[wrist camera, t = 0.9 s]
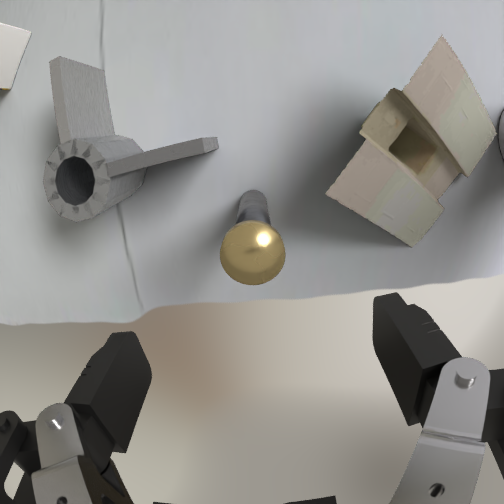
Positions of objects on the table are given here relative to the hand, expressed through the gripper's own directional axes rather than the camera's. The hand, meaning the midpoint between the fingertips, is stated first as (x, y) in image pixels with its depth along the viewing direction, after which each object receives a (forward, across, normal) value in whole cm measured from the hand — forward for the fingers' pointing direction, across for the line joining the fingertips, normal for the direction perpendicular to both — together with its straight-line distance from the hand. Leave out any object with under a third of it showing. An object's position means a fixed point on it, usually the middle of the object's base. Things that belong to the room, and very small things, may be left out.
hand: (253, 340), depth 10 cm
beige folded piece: (+20, -16, -3) cm, 26 cm away
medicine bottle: (+20, +25, -24) cm, 40 cm away
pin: (+20, 0, 0) cm, 20 cm away
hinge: (+20, +9, -10) cm, 24 cm away
